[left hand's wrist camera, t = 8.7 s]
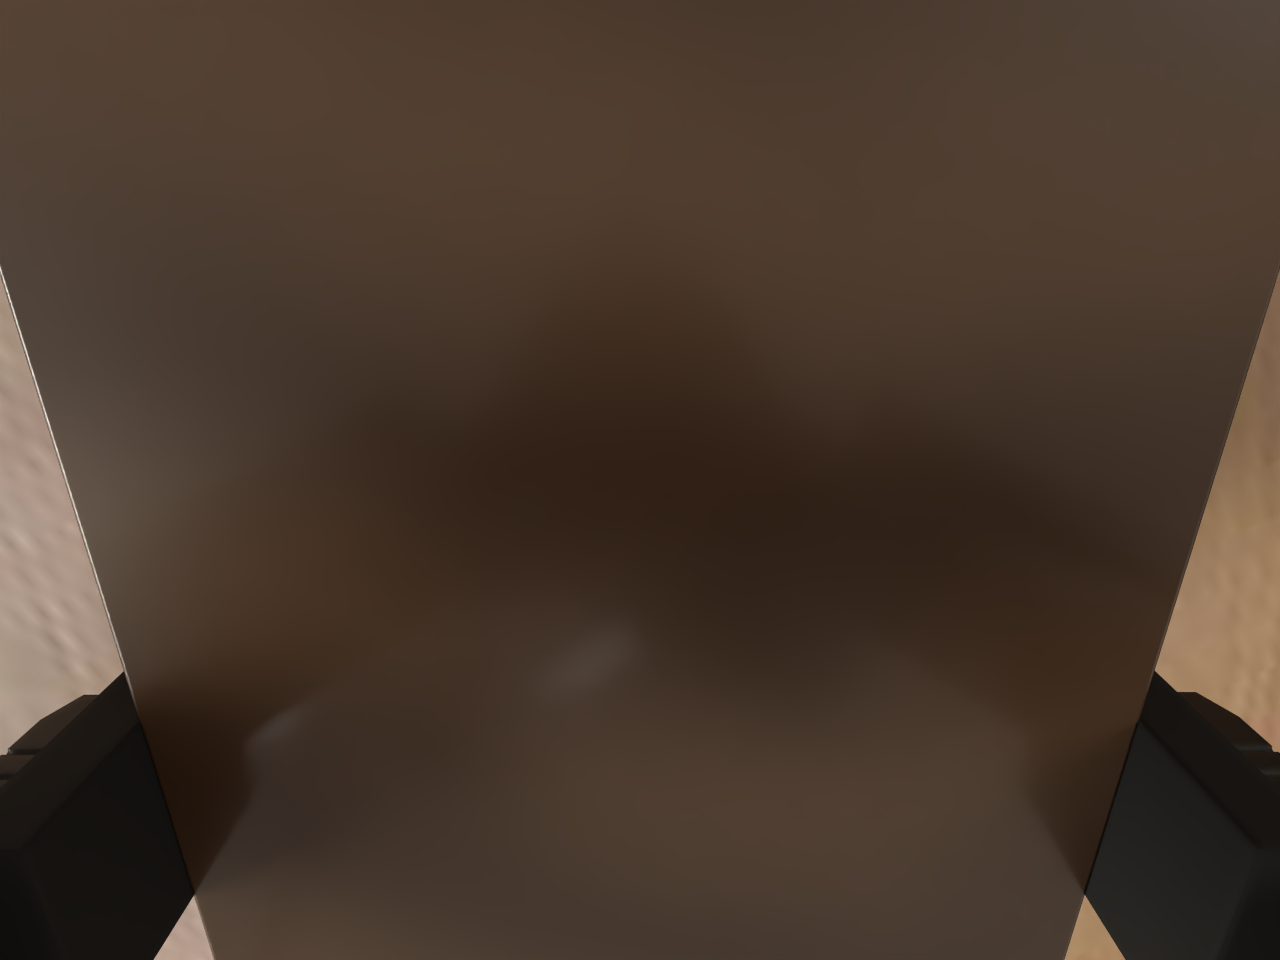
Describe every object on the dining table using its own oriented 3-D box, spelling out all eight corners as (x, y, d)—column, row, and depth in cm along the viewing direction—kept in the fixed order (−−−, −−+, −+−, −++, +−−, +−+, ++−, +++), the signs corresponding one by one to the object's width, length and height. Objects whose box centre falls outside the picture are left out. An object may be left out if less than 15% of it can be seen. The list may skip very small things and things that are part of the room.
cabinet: (314, -198, 13) (-398, -978, 4) (963, -198, 13) (1674, -976, 4) (417, 599, 19) (221, 991, 10) (861, 599, 19) (1057, 990, 10)
